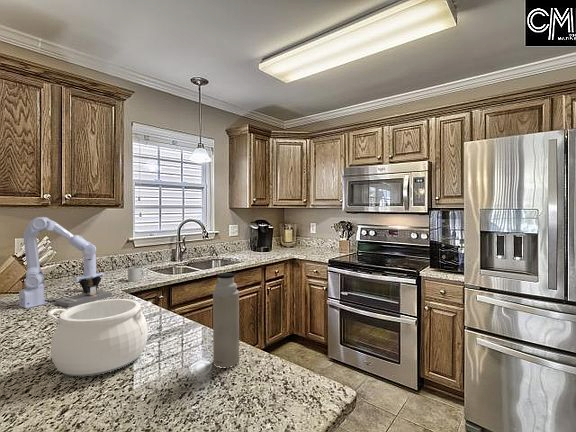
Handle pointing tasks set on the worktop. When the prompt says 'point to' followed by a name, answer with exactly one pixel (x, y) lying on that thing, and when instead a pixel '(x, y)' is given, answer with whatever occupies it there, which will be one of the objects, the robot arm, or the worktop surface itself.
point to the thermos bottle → (225, 321)
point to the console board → (82, 298)
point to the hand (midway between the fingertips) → (90, 292)
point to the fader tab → (91, 289)
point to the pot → (98, 336)
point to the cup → (135, 274)
